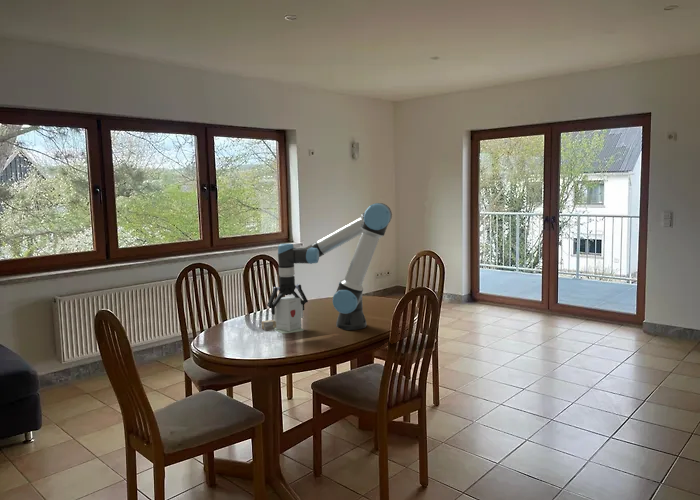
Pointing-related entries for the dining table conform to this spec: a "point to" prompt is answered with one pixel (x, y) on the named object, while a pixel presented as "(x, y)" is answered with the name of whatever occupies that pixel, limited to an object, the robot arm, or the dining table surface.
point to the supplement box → (288, 313)
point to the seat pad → (289, 331)
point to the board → (268, 325)
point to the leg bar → (269, 320)
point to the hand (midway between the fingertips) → (288, 319)
